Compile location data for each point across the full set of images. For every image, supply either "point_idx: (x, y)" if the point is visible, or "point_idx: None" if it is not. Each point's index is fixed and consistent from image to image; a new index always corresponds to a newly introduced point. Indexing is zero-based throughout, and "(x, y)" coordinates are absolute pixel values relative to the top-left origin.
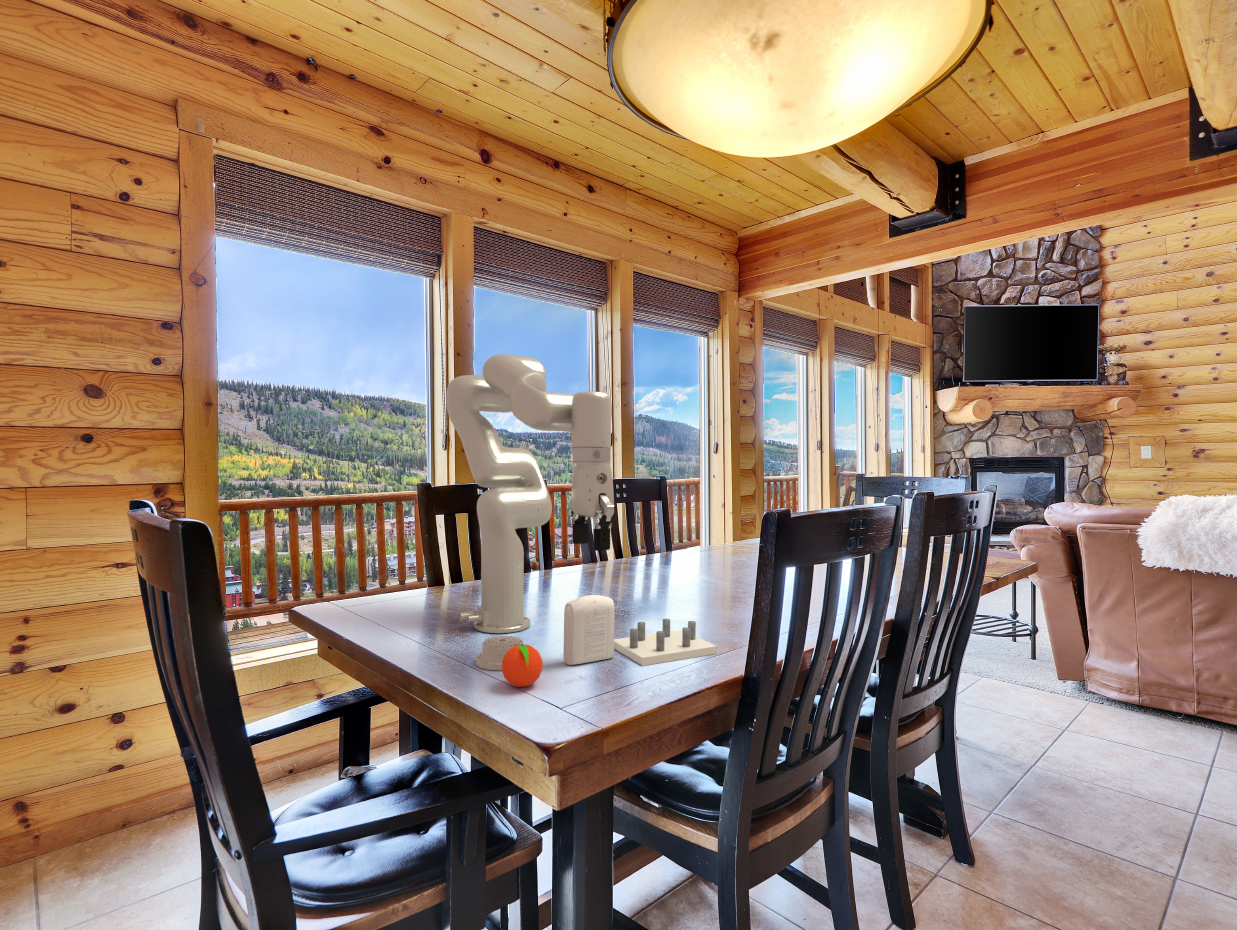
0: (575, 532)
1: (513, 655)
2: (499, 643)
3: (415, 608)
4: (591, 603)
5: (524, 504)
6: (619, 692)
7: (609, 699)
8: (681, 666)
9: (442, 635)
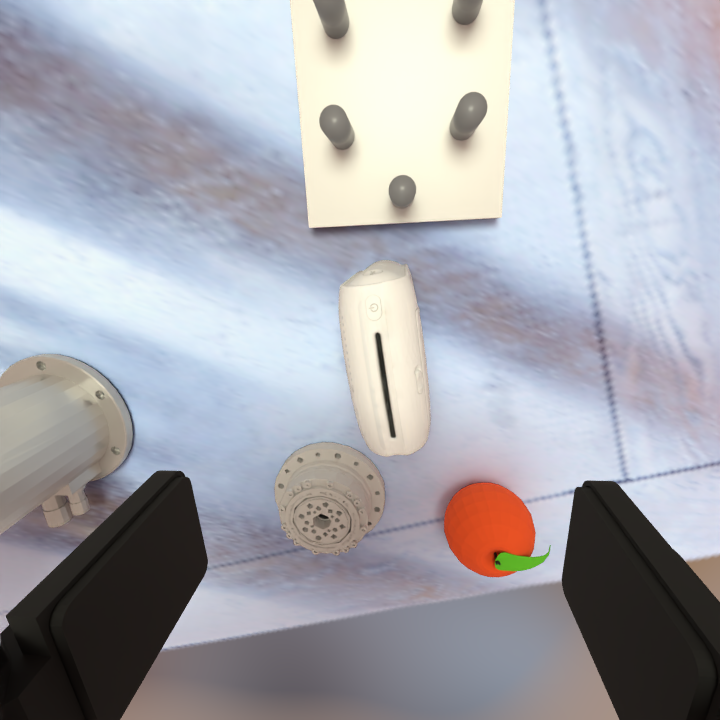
0: (159, 644)
1: (512, 573)
2: (344, 534)
3: None
4: (421, 384)
5: None
6: (624, 351)
7: (646, 386)
8: (555, 106)
9: None
